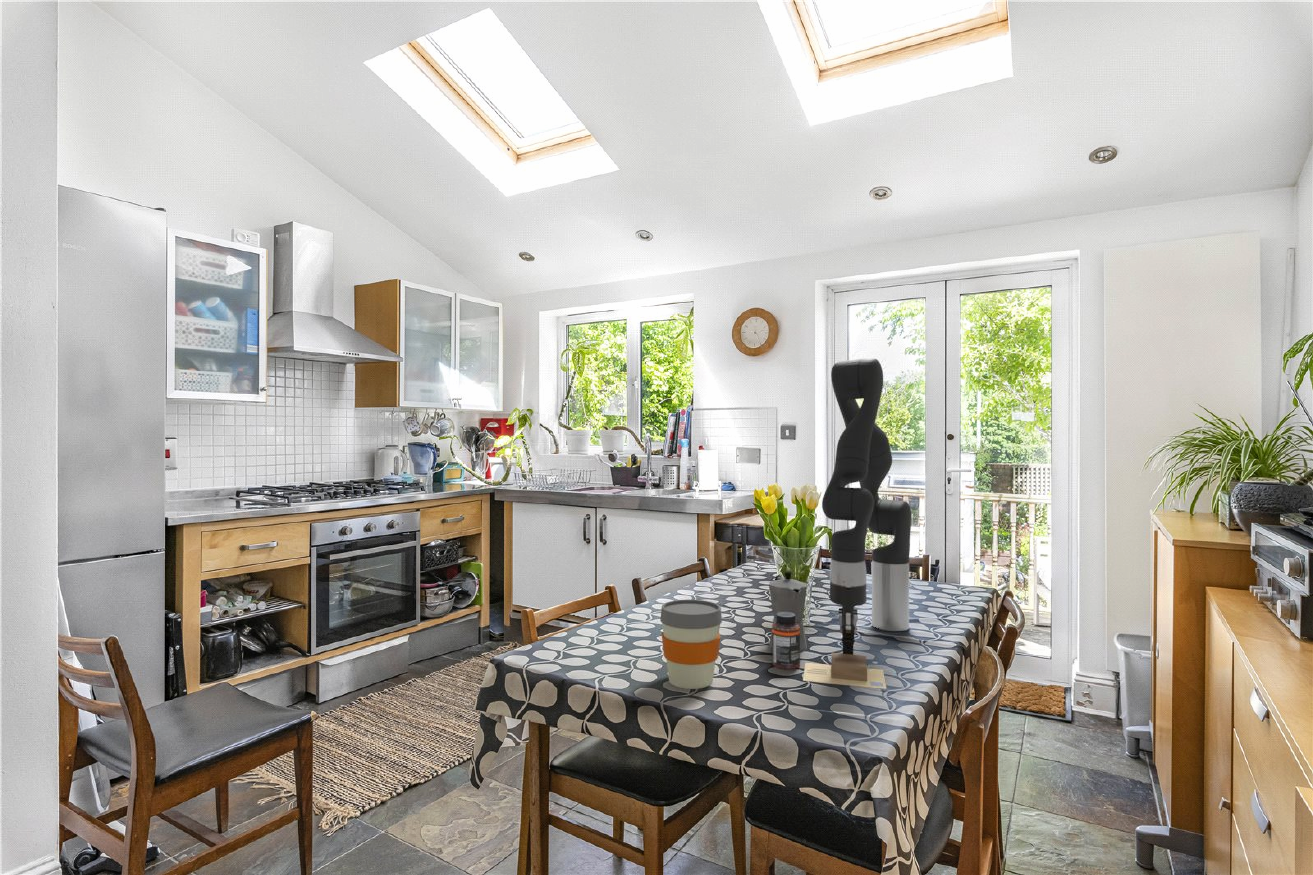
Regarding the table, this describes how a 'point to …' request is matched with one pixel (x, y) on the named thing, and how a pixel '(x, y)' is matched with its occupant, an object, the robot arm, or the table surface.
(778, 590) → the coffeepot
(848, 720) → the table surface
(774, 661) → the supplement bottle
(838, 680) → the letter
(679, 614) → the reusable coffee cup
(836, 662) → the block
